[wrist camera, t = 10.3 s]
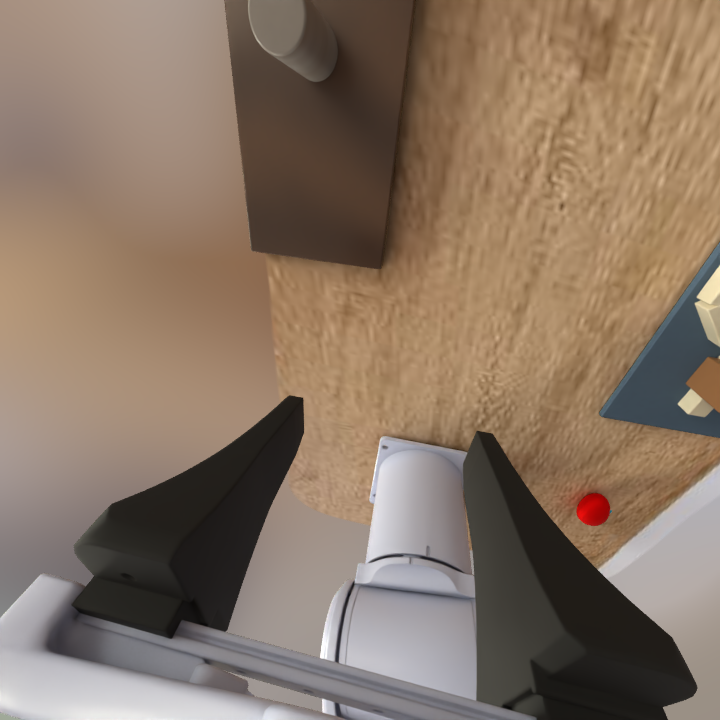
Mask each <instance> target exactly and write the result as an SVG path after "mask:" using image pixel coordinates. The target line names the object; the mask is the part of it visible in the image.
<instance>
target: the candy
mask: <svg viewBox="0 0 720 720" xmlns="http://www.w3.org/2000/svg"><path fill="white" fill-rule="evenodd" d="M611 512H612V510H611V509H610V505H609V502H608V500H607V499H606V498H605V497H604V496H603V495H601V494H598V493H592V494H589V495H587V496H585V497H584V498H583V499H582V500H581V501H580V502H579V504H578V506H577V516H578V518H579V519H580V520H581V521H582V522H583V523H585V524H587V525H591V526H598V525H600V524H602V523H604V522H605V521H606V520H607V519H608V517H609V514H610V513H611Z"/></svg>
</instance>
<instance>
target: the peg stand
mask: <svg viewBox="0 0 720 720" xmlns="http://www.w3.org/2000/svg"><path fill="white" fill-rule="evenodd" d="M224 1H225V10H226V20H227V29H228V38H229V47H230V57H231V66H232V76H233V85H234V94H235V104H236V113H237V122H238V131H239V141H240V150H241V160H242V169H243V178H244V188H245V197H246V206H247V215H248V224H249V234H250V244H251V250H252V251H255V252H261V253H268V254H275V255H282V256H289V257H296V258H303V259H310V260H317V261H324V262H331V263H338V264H346V265H353V266H360V267H367V268H374V269H381V268H382V265H383V257H384V249H385V242H386V234H387V226H388V218H389V210H390V202H391V194H392V186H393V179H394V171H395V163H396V155H397V147H398V139H399V131H400V123H401V115H402V108H403V100H404V92H405V84H406V76H407V68H408V60H409V52H410V44H411V37H412V29H413V21H414V13H415V5H416V0H224Z"/></svg>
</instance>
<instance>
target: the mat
mask: <svg viewBox="0 0 720 720" xmlns="http://www.w3.org/2000/svg"><path fill="white" fill-rule="evenodd" d="M719 265H720V242H719V244H718V245H717V247H716V248H715V249H714V251H713V252H712V254H711V255H710V256H709V258H708V259H707V261H706V262H705V264H704V265H703V266H702V268H701V269H700V271H699V272H698V273H697V275H696V276H695V278H694V279H693V281H692V282H691V283H690V285H689V286H688V288H687V289H686V290H685V292H684V293H683V295H682V296H681V298H680V299H679V300H678V302H677V303H676V305H675V306H674V308H673V309H672V310H671V312H670V313H669V315H668V316H667V317H666V319H665V320H664V322H663V323H662V325H661V326H660V327H659V329H658V330H657V332H656V333H655V334H654V336H653V337H652V339H651V340H650V342H649V343H648V344H647V346H646V347H645V349H644V350H643V351H642V353H641V354H640V356H639V357H638V359H637V360H636V361H635V363H634V364H633V366H632V367H631V368H630V370H629V371H628V373H627V374H626V376H625V377H624V378H623V380H622V381H621V383H620V384H619V386H618V387H617V388H616V390H615V391H614V393H613V394H612V395H611V397H610V398H609V400H608V401H607V403H606V404H605V405H604V407H603V408H602V410H601V411H600V412H599V414H600V416H601V417H605V418H610V419H616V420H622V421H627V422H633V423H639V424H644V425H650V426H656V427H661V428H667V429H672V430H678V431H684V432H689V433H695V434H701V435H706V436H712V437H718V438H720V413H719V412H717V411H716V410H715V409H713V410H712V411H711V412H710V413H709V414H708V415H707V416H706V417H701V416H695V415H689V414H687V413H686V412H685V411H684V410H683V409H682V408H681V407H680V406H679V405H678V403H679V402H680V400H681V399H682V398H683V397H684V396H685V395H686V394H687V392H688V391H689V390H690V389H691V388H690V387H689V386H687V385H686V382H687V381H688V379H689V378H690V377H691V376H692V375H693V374H694V372H695V371H696V370H697V369H698V368H699V367H700V365H701V364H702V363H703V362H704V361H705V359H706V358H707V357H714V358H718V357H719V356H720V347H719V346H718V345H716V344H714V343H713V342H711V341H710V340H708V338H707V335H706V333H705V330H704V327H703V325H702V322H701V319H700V317H699V314H698V311H697V309H696V306H695V303H696V302H698V301H700V299H698V298H697V295H698V294H699V293H700V291H701V290H702V289H703V287H704V286H705V284H706V283H707V282H708V280H709V279H710V278H711V276H712V275H713V274H714V272H715V271H716V269H717V268H718V267H719Z"/></svg>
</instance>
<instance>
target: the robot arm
mask: <svg viewBox="0 0 720 720" xmlns="http://www.w3.org/2000/svg"><path fill="white" fill-rule="evenodd" d="M303 434H304V407H303V398H301V397H295V396H288V397H287V398H285V399H284V400H283V401H282V402H281V403H280V404H279V405H278V406H277V407H276V408H274V409H273V410H272V411H271V412H270V413H269V414H268V415H267V416H265V417H264V418H263V419H262V420H260V421H259V422H258V423H257V424H256V425H254V426H253V427H252V428H251V429H249V430H248V431H247V432H245V433H244V434H243V435H241V436H240V437H239V438H237V439H236V440H235V441H233V442H232V443H231V444H229V445H228V446H226V447H225V448H223V449H222V450H220V451H219V452H217V453H216V454H214V455H212V456H211V457H210V458H208V459H206V460H204V461H203V462H201V463H199V464H197V465H196V466H194V467H192V468H190V469H188V470H187V471H185V472H183V473H181V474H179V475H177V476H175V477H173V478H171V479H169V480H167V481H165V482H163V483H160V484H158V485H156V486H154V487H152V488H149V489H147V490H145V491H143V492H140V493H138V494H135V495H133V496H130V497H128V498H125V499H123V500H120V501H118V502H115V503H113V504H111V505H110V506H109V507H108V508H107V509H106V510H105V511H104V512H103V513H102V515H101V516H100V517H99V518H98V519H97V520H96V521H95V522H94V523H93V525H91V527H90V528H89V529H88V530H87V531H86V532H85V533H84V534H83V535H82V537H81V538H80V539H79V540H78V541H77V542H76V543H75V545H74V551H75V554H76V555H77V557H78V558H79V559H80V561H81V562H82V563H83V564H84V565H85V566H86V567H87V568H88V570H89V571H90V572H91V573H92V574H93V575H94V577H93V578H92V580H91V581H90V582H89V583H88V585H87V586H86V587H85V586H84V585H82V584H80V583H78V582H75V581H72V580H68V579H64V578H61V577H57V576H54V575H50V574H46V573H45V574H41V575H40V576H39V577H38V578H37V579H36V580H35V581H34V582H33V583H32V584H31V585H30V587H29V588H28V589H27V590H26V591H25V592H24V593H23V594H22V595H21V596H20V597H19V598H18V599H17V601H16V602H15V603H14V604H13V605H12V606H11V607H10V608H9V609H8V610H7V611H6V613H4V615H3V616H2V617H1V618H0V713H3V714H6V715H9V716H12V717H15V718H18V719H21V720H668V719H667V716H666V714H665V712H664V709H663V707H664V706H668V705H671V704H674V703H677V702H680V701H683V700H686V699H688V698H690V697H692V696H693V695H694V694H695V693H696V691H697V685H696V682H695V680H694V678H693V676H692V674H691V672H690V670H689V668H688V666H687V664H686V663H685V660H684V658H683V657H682V655H681V653H680V651H679V649H678V647H677V646H676V644H675V642H674V640H673V638H672V637H671V636H670V635H669V634H667V633H666V632H665V631H664V630H663V629H662V628H661V627H659V626H658V625H657V624H656V623H655V622H654V621H652V620H651V619H650V618H649V617H648V616H647V615H646V614H644V613H643V612H642V611H641V610H640V609H639V608H638V607H636V606H635V605H634V604H633V603H632V602H631V601H630V600H628V599H627V598H626V597H625V596H624V595H623V594H622V593H621V592H620V591H619V590H618V589H617V588H616V587H615V586H614V585H613V584H611V583H610V582H609V581H608V580H607V579H606V578H605V577H604V576H603V575H602V574H601V573H600V572H599V571H598V570H597V569H596V568H595V567H594V566H593V565H592V564H591V563H590V562H589V561H588V560H587V559H586V558H585V556H584V555H583V554H582V553H581V552H580V551H579V550H578V549H577V548H576V547H575V546H574V545H573V544H572V543H571V542H570V540H569V539H568V538H567V537H566V536H565V535H564V534H563V532H562V531H561V530H560V529H559V528H558V527H557V525H556V524H555V523H554V522H553V521H552V520H551V518H550V517H549V516H548V515H547V513H546V512H545V511H544V510H543V508H542V507H541V506H540V504H539V503H538V502H537V500H536V499H535V498H534V496H533V495H532V494H531V492H530V491H529V489H528V488H527V486H526V485H525V484H524V482H523V481H522V479H521V478H520V476H519V475H518V473H517V472H516V470H515V469H514V467H513V466H512V464H511V462H510V461H509V459H508V458H507V456H506V454H505V453H504V451H503V450H502V448H501V446H500V445H499V443H498V442H497V440H496V438H495V437H494V435H493V434H491V433H486V432H481V431H477V432H476V434H475V436H474V439H473V441H472V443H471V446H470V448H469V450H468V452H464V451H459V450H454V449H449V448H444V447H439V446H434V445H429V444H424V443H418V442H413V441H408V440H403V439H398V438H393V437H388V436H383V437H381V439H380V444H379V450H378V455H377V461H376V466H375V472H374V477H373V483H372V489H371V494H370V502H371V503H372V504H374V510H373V516H372V523H371V530H370V536H369V543H368V550H367V557H366V563H358V566H357V573H356V578H355V579H348V580H346V581H345V582H344V583H343V585H342V586H341V588H340V589H339V590H338V591H337V592H336V594H335V596H334V598H333V600H332V602H331V605H330V608H329V612H328V615H327V619H326V623H325V628H324V634H323V640H322V647H321V657H320V658H318V657H315V656H311V655H307V654H304V653H300V652H297V651H293V650H289V649H286V648H282V647H279V646H275V645H271V644H268V643H264V642H260V641H257V640H253V639H249V638H245V637H242V636H238V635H234V634H231V633H228V632H225V631H227V629H228V626H229V622H230V620H231V616H232V613H233V610H234V607H235V604H236V601H237V598H238V595H239V592H240V589H241V586H242V583H243V580H244V577H245V574H246V571H247V568H248V565H249V563H250V560H251V557H252V554H253V551H254V548H255V546H256V543H257V540H258V538H259V535H260V532H261V530H262V527H263V524H264V522H265V519H266V517H267V514H268V511H269V509H270V507H271V505H272V502H273V500H274V498H275V496H276V494H277V492H278V490H279V488H280V486H281V484H282V482H283V480H284V478H285V476H286V474H287V472H288V470H289V468H290V466H291V464H292V462H293V460H294V458H295V456H296V453H297V451H298V448H299V445H300V442H301V439H302V436H303ZM384 445H386V446H384ZM463 490H464V496H465V503H466V509H467V516H468V523H469V529H470V536H471V542H472V550H473V560H474V575H472V570H471V561H470V552H469V542H468V533H467V524H466V515H465V506H464V497H463ZM224 670H225V671H224ZM226 671H228V672H232V673H235V674H238V675H242V676H246V677H249V678H253V679H256V680H259V681H263V682H266V683H270V684H273V685H277V686H280V687H284V688H287V689H291V690H294V691H297V692H301V693H304V694H308V695H311V696H315V697H319V698H322V707H323V708H322V710H323V712H319V711H315V710H311V709H307V708H303V707H299V706H295V705H290V704H286V703H282V702H278V701H273V700H268V699H264V698H259V697H255V696H254V695H253V694H251V693H250V692H249V691H248V689H247V688H248V682H247V681H246V680H244V679H242V678H239V677H237V676H235V675H233V674H230V673H228V672H226Z"/></svg>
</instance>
